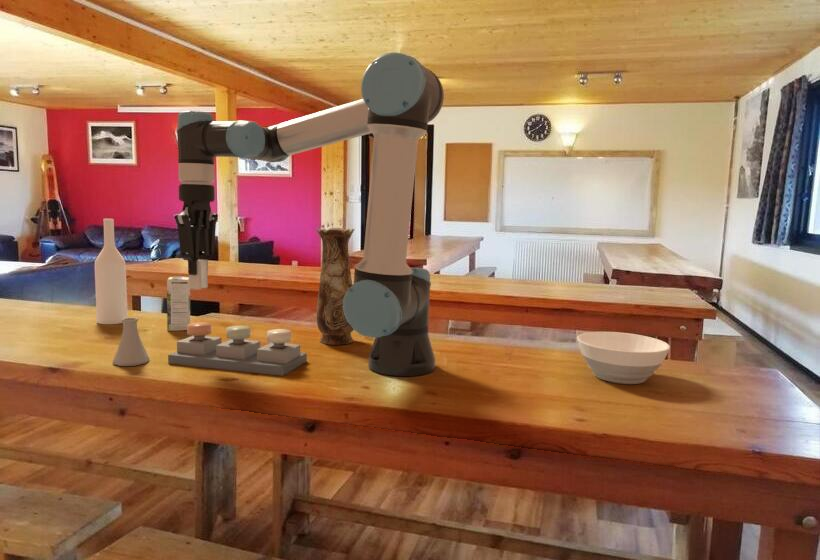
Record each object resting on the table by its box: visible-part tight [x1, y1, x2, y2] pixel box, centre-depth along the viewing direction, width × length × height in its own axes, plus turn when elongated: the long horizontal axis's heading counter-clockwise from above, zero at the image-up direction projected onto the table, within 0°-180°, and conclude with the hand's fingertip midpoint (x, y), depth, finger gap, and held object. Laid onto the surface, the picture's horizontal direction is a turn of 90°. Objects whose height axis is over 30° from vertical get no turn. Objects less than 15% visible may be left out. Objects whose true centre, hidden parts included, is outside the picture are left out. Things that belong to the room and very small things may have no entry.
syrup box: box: [166, 276, 191, 332], centre depth 165 cm, size 6×6×14 cm
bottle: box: [94, 218, 129, 325], centre depth 171 cm, size 8×8×30 cm
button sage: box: [225, 325, 251, 346], centre depth 134 cm, size 5×5×4 cm
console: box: [167, 335, 308, 377], centre depth 134 cm, size 28×12×4 cm, turn 76°
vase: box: [315, 227, 355, 346], centre depth 155 cm, size 10×11×30 cm
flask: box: [112, 317, 151, 367], centre depth 131 cm, size 7×7×10 cm
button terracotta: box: [186, 321, 212, 342], centre depth 136 cm, size 5×5×4 cm
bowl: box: [576, 331, 671, 385], centre depth 131 cm, size 20×19×8 cm
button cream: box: [266, 328, 292, 350], centre depth 131 cm, size 5×5×4 cm
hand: (198, 288), depth 135 cm, fingers open, 2 cm apart
